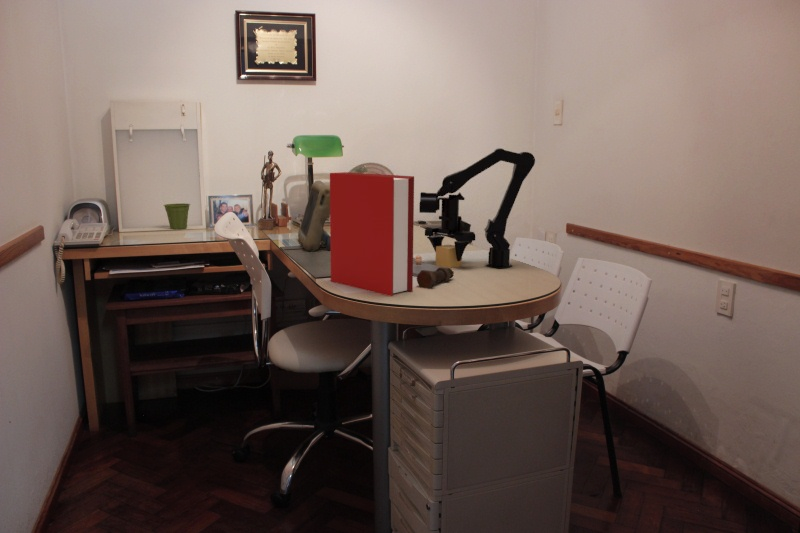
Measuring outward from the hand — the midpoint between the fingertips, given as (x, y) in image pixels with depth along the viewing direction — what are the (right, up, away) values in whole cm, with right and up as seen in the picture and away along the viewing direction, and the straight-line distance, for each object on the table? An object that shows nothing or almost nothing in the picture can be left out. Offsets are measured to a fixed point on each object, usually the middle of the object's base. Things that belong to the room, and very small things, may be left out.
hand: (448, 259), depth 219 cm
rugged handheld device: (-50, +6, +40) cm, 65 cm away
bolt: (-5, -8, -27) cm, 28 cm away
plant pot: (-120, +15, +83) cm, 147 cm away
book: (-26, -8, -31) cm, 41 cm away
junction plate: (-11, -4, -9) cm, 14 cm away
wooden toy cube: (0, -2, 0) cm, 2 cm away
